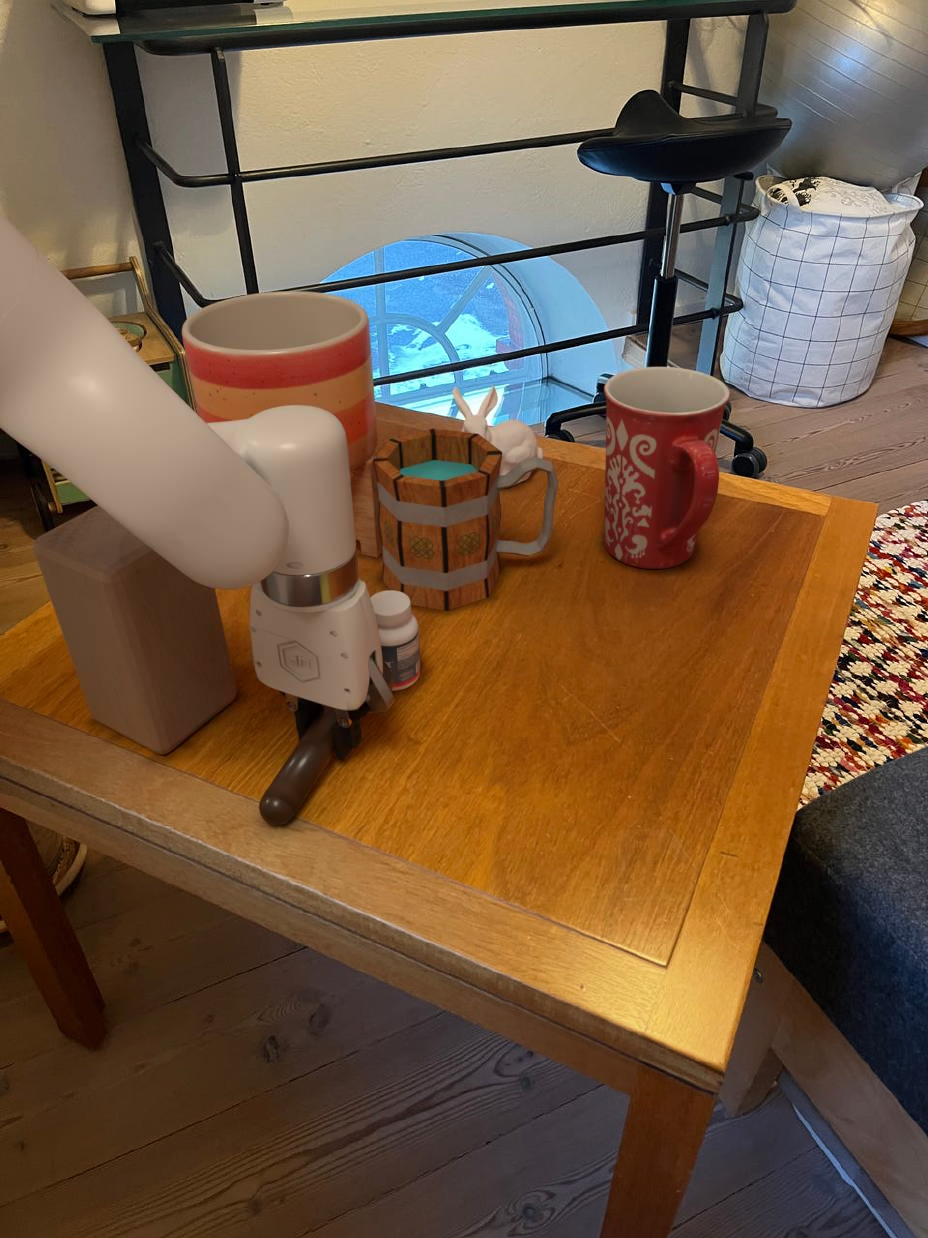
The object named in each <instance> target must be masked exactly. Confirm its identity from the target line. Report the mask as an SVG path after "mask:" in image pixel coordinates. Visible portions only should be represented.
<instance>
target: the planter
mask: <svg viewBox="0 0 928 1238" xmlns="http://www.w3.org/2000/svg"><path fill="white" fill-rule="evenodd" d="M370 329H371V328H370V319H369V316H368V313H367V311H366V310H365V309H364V307H363V306H361V305H360V304H358V303H357V302H356V301H353V300H351V299H349V298H346V297H343V296H341V295H335V294H329V293H325V292H324V293H323V292H315V291H303V290H301V291H300V290H299V291H297V290H295V291H294V290H288V291H287V290H286V291H284V290H283V291H269V292H260V293H253V294H252V293H250V294H246V295H240V296H236V297H231V298H228V299H224V300H221V301H216V302H214V303H211V304H209V305H207V306H205V307H202V308H200V309H198V310H197V311H195V312H193V313H192V314H191V315H190V316H189V317H187V319H186V320H185V321H184V322H183V324H182V328H181V336H182V343H183V348H184V354H185V359H186V363H187V368H188V372H189V377H190V382H191V387H192V391H193V396H194V401H195V402H194V403H195V407H196V413H197V415H198V416H199V417H200V418H201V419H202V420H203V421H204V422H206V423H214V422H225V421H235V420H243V419H248V418H251V417H252V416H254V415H256V414H257V413H259V412H262V411H264V410H267V409H271V408H275V407H280V406H288V405H306V406H313V407H318V408H321V409H324V410H326V411H328V412H330V413H331V414H333V415H334V416H335V417H336V418H337V419H338V420H339V421H340V422H341V424H342V426H343V428H344V430H345V433H346V439H347V447H348V459H349V470H350V472H352V471H353V473H352V477H351V479H350V482H351V493H352V504H353V516H354V528H355V539H356V541H359V544H360V551H361V556H367V557H371V558H379V557H380V556H381V554H383V550H382V542H381V536H380V530H379V525H378V513H379V495H378V483H377V477H376V473H375V468H374V463H373V459H374V458H375V457H376V456H372V455H373V454H374V453H375V452H376V449H377V446H378V441H379V440H378V422H377V420H378V419H377V409H376V398H375V386H374V385H375V384H374V371H373V354H372V353H373V352H372V340H371V339H372V338H371V330H370Z"/></svg>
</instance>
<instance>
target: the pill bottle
mask: <svg viewBox="0 0 928 1238" xmlns="http://www.w3.org/2000/svg"><path fill="white" fill-rule="evenodd" d="M370 598H371V602H372V605H373V608H374V613H375V617H376V621H377V626H378V631H379V637H380V643H381V651H382V661H383V662H385V663H386V664H387V665H388V666H389V668H390V670H391V674H392V678H393V688H392V691H391V692H396V691H402V690H406V689H407V688H409V687H412V686H413V685H414V684H415V683H417V681H418V679H419V678H420V675H421V653H420V651H421V650H420V633H419V631H420V630H419V623H418V620H417V618H416V616H415V615H414V614H413V613H412V605H411V603H410V599H409V597H408V596H407V595H406V594H404V593H402V592H399V591H394V590H390V589H388V590H382V591H378V592H376V593H374V594H373V595H372V596H370Z"/></svg>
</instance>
